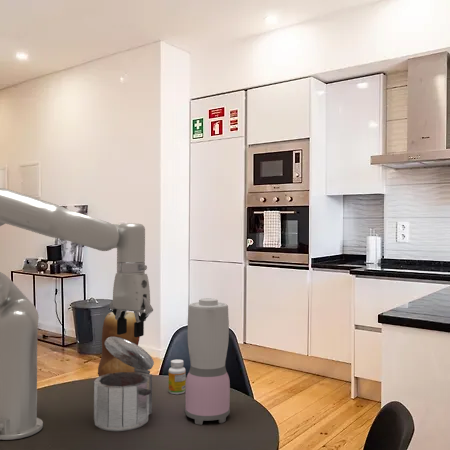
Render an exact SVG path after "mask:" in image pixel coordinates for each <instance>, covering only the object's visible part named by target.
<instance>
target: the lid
mask: <svg viewBox="0 0 450 450" xmlns="http://www.w3.org/2000/svg"><path fill="white" fill-rule="evenodd" d="M105 347H106V348H107V350H108V351H109V352H110V353H111V354H112V355H113V356H114V357H116V358H117V359H118V360H120V361H122V362H123V363H125V364H127V365H129V366H131V367H134V368H135V369H134V371H136V372H141V373H146V374H150V373H151V369H153V367H154V365H155V362H154V359H153V357H152V356H151V354H150V353H149V352H147V351H146V350H145V349H144V348H142V347H141V346H140V345H139V344H138V345H136V344H134V343H132V342H130V341H128V340H126V339H123V338H120V337H108V338H107V339H106V341H105Z"/></svg>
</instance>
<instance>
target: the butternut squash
mask: <svg viewBox="0 0 450 450" xmlns="http://www.w3.org/2000/svg"><path fill="white" fill-rule="evenodd" d="M121 312H122V311H121ZM125 318H126V319H127V332H126V333H124V334H120V335H118V334H117V320H116V319H115V315H114V313H113V311H111V312H108V313H107V314H106V315H105V318H104V320H103V325H102V331H101V350H102V351H101V358H100V360H99V364H98V367H97V376H98V377H100V376H103V375H106V374H109V373H117V372H136V371H134V369H135V368H134V367H131V366H129V365H127V364H125V363H123V362H122V361H120V360H118V359H117V358H116V357H114V356H113V355H112V354H111V353H110V352H109V351H108V350H107V348H106V347H105V341H106V339H107V338H108V337H120V338H123V339H126V340H128V341H130V342H132V343H134V344H136V345H138V346H139V342H140V338H141V336H140V337H134V322H136V319H135V315H134V311H127V312H126V316H125Z"/></svg>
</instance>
